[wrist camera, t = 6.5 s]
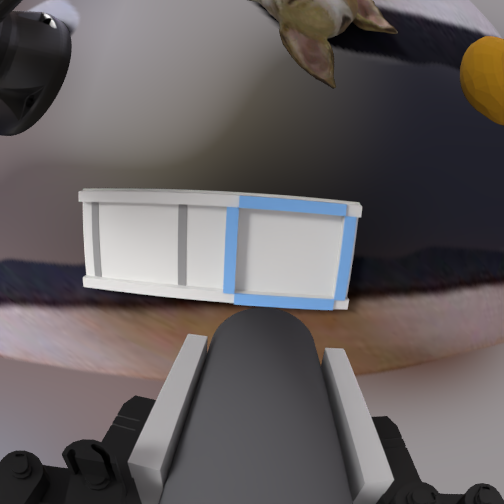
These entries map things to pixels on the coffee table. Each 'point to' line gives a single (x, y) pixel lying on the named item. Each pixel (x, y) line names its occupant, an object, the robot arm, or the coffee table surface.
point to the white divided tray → (220, 246)
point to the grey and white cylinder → (259, 421)
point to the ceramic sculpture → (321, 29)
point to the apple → (485, 77)
